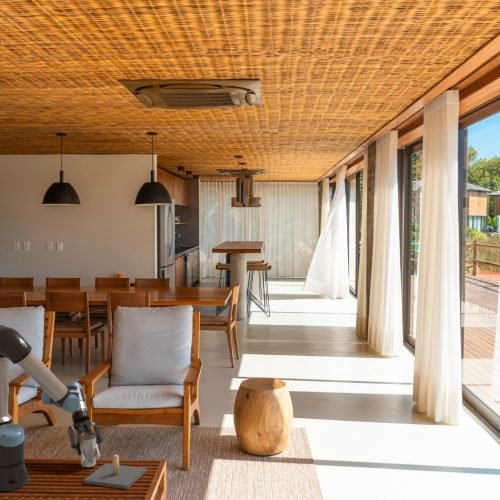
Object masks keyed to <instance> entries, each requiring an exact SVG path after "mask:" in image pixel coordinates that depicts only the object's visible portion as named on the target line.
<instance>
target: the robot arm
mask: <svg viewBox="0 0 500 500" xmlns="http://www.w3.org/2000/svg"><path fill="white" fill-rule="evenodd" d="M10 362H11V363H12V364H13V365H18V366H19V367H20V368H21V369H22V370H23V371H24V372H25V373H26V374H27V375H28V376H29V377H30V378H31V379H32V380H33V381H34V383H36V384H37V385H38V386H39V387H40V388H41V389H42V392H41V396H40V398H41V403H42V404H43V405H45V406H47V405H48V406H51V405H53V406H54V407H56V408H59V409H61V410H63V411H64V412H68V413H70V416H71V420H72V425H70V426H68V428H67V432H68V434H69V439H70V445H71V449H75V451H76V452H77V455H78V456H80V462H81V461H82V463H83V462H84V461H85V457H84V453H83V449H82V446H81V438H82V434H83V433H86V434H87V436H89V435H91V436H95V437H96V460H100V457H101V454H100V451H101V446H100V444H102V441H103V437H102V434H101V432H100V428H99V425H98V424H99V423H98V422H99V421H97V420H96V421H94V422H93V421H91V419H90V414H89V411H88V406H87V403H86V399H85V396H84V391H83V388H82V385H81V383H79V382H77V381H73V382H69V383H67V384H66V385H65V384H64V383H62V381H61V380H60V379H59V378H58V377H57V376H56V375H55V374H54V373H53V372H52V371H51V370H50V368H49V367H47V365H46V364H45V363H44V362H43V360H41V359H40V358H39V357H38V356H37V355H36V354H35V353H34V352H33V347H32V345H30V344H29V343H28V341H26V339H25V338H24V337H23V336H22V334H20V332H19V331H18V330H16V329H14V328H13V327H8V326H6V325H4V324H0V492H9V491H14V490H18V489H20V488H21V489H22V488H23V487H25V486H26V485H27V484H28V483H29V482H30V476H29V473H28V470H27V467H26V464H25V431H24V428H23V426H21V425H19V424H17V423H16V424H15V423H13V420H12V419H13V417H12V416H11V414H9V386H10V385H9V382H10V381H9V377H10V375H9V373H10V366H9V365H10V364H9V363H10ZM91 427H92V428H91ZM92 429H93V430H94V432H93V430H92ZM74 430H75V431H77V433H76V438H75V433H74Z"/></svg>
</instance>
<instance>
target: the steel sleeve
mask: <svg viewBox="0 0 500 500" xmlns="http://www.w3.org/2000/svg"><path fill="white" fill-rule="evenodd" d="M95 436H96V435H95ZM95 436H91V435H85V436H84V435H83V437H82V436H81V439H80V446H82V449H83V453H84V457H85V461H84V462H83V463H82V461H81V460H80V466H81V467H82V468H83V467H84V468H91V467H94V466H95V465H97V457H96V438H97V437H95Z"/></svg>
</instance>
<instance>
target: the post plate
mask: <svg viewBox="0 0 500 500" xmlns="http://www.w3.org/2000/svg"><path fill="white" fill-rule="evenodd" d="M147 470H148V469H147V467H139V466H129V465H121V464H120V456H119V454H114V455H113V456H112V463H104V464H103V465H101V466H100V467H99V468H97V469H96V470H94V472H92V473H91V474H90V475H88V476H87V477H85V478H84V479H83V484H85V485H93V486H99V487H107V488H109V487H110V488H117V489H122V490H123V489H125V490H128V489H129V488H130V487H131V486H132V485H133V484H135V482H137V481H138V480H139V479H141V477H142V476H143V475H144V474H146V473H147Z"/></svg>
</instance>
